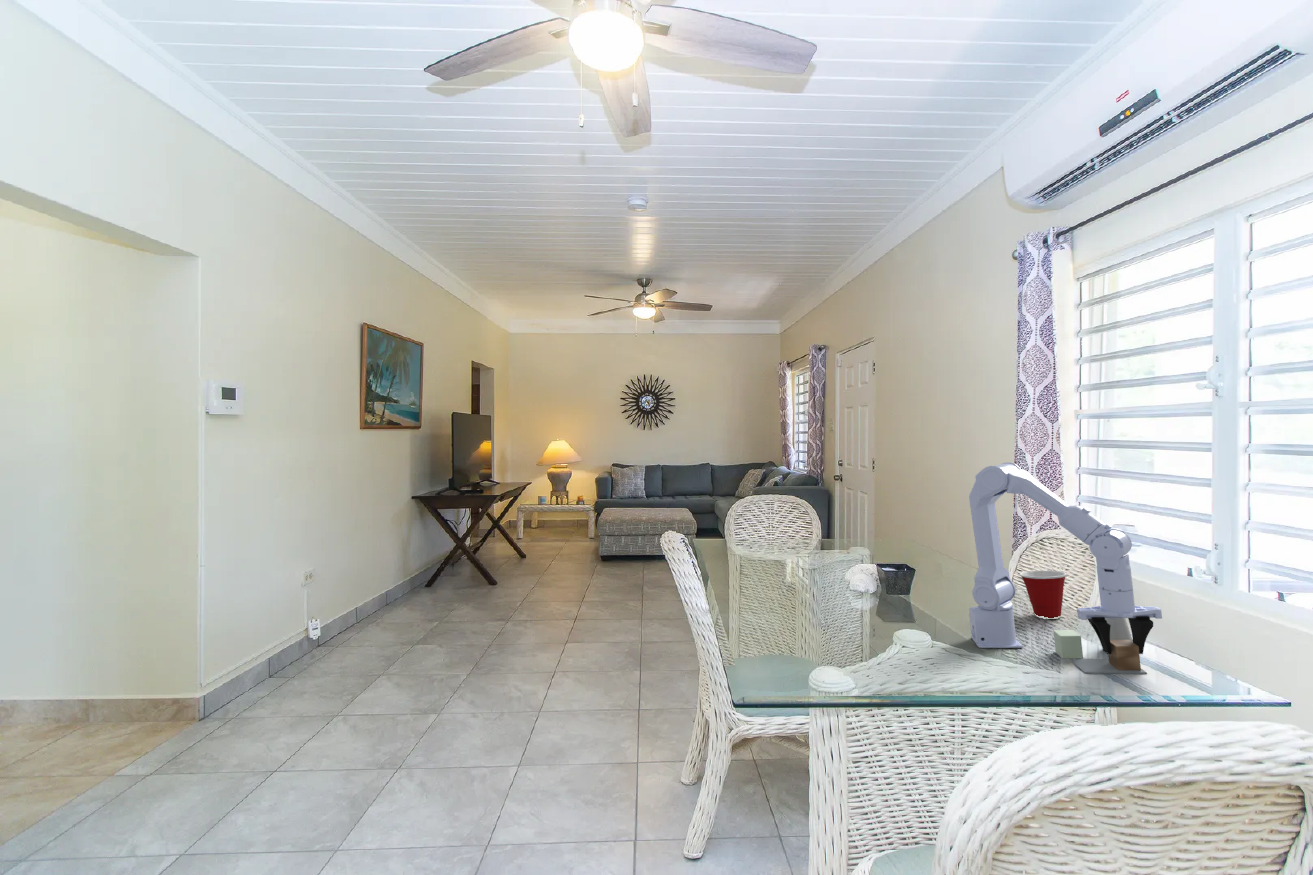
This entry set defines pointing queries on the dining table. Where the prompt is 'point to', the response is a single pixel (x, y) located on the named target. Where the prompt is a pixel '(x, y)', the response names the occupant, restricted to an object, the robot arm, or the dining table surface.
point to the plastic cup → (1045, 591)
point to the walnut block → (1124, 655)
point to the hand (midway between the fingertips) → (1122, 652)
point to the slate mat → (1101, 667)
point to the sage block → (1068, 644)
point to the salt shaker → (1119, 629)
